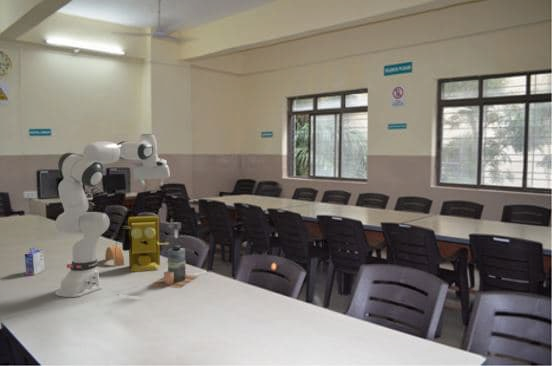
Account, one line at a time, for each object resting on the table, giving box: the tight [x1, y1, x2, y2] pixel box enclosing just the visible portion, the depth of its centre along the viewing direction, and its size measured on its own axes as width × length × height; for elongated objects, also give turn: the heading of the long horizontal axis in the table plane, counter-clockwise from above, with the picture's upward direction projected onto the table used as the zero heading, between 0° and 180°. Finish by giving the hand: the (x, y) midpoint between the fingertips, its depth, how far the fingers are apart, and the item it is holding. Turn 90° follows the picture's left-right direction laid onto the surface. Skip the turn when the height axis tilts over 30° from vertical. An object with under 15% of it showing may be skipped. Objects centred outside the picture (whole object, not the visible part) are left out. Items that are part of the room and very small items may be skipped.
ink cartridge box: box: [24, 246, 45, 276], centre depth 259 cm, size 10×6×14 cm, turn 174°
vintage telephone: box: [115, 215, 170, 273], centre depth 268 cm, size 31×14×30 cm, turn 105°
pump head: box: [166, 221, 182, 239], centre depth 237 cm, size 10×4×8 cm, turn 164°
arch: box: [104, 245, 125, 267], centre depth 282 cm, size 6×20×10 cm, turn 35°
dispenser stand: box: [149, 244, 200, 289], centre depth 239 cm, size 22×18×20 cm
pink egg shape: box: [163, 270, 174, 285], centre depth 233 cm, size 5×5×6 cm
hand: (152, 185), depth 260 cm, fingers open, 8 cm apart
